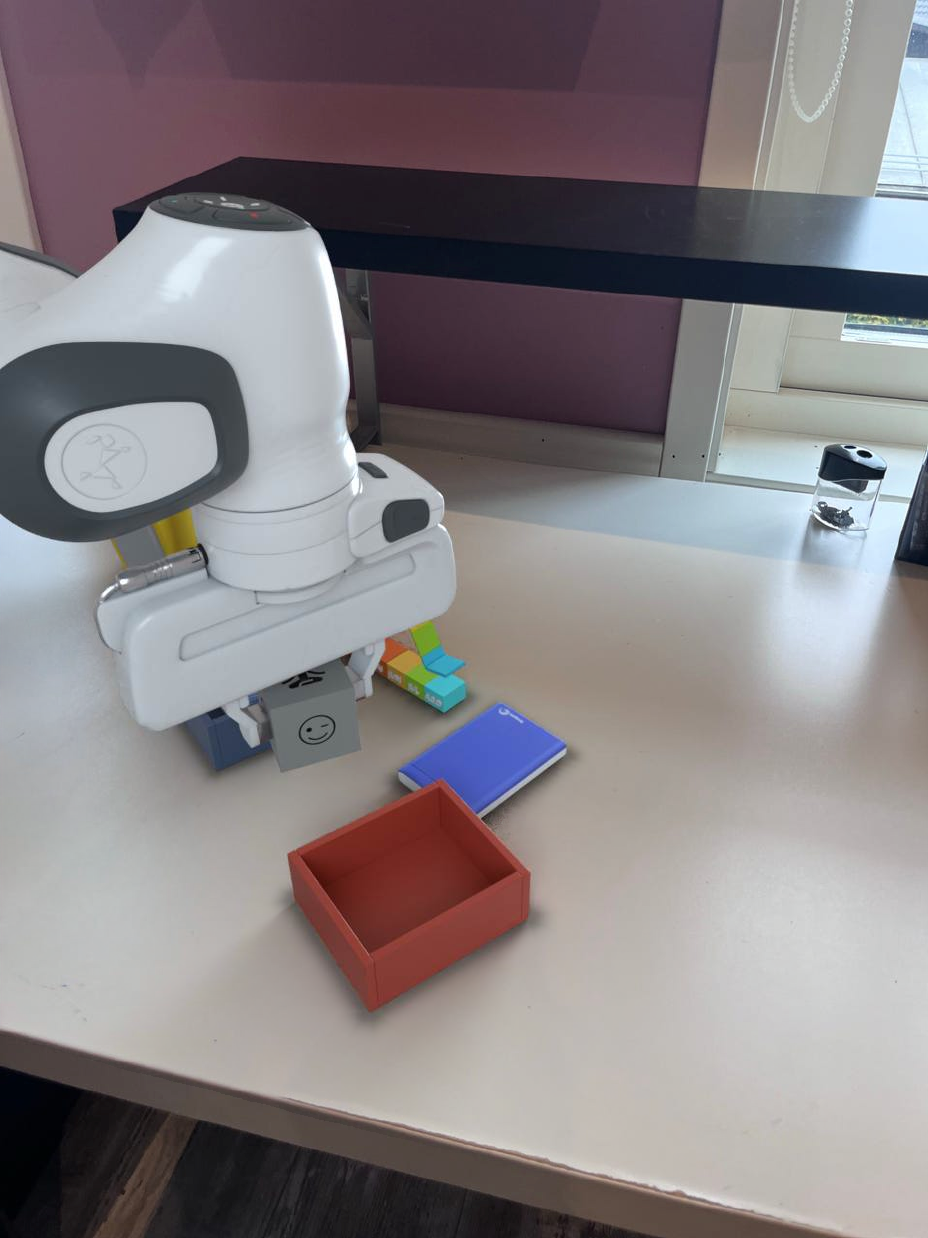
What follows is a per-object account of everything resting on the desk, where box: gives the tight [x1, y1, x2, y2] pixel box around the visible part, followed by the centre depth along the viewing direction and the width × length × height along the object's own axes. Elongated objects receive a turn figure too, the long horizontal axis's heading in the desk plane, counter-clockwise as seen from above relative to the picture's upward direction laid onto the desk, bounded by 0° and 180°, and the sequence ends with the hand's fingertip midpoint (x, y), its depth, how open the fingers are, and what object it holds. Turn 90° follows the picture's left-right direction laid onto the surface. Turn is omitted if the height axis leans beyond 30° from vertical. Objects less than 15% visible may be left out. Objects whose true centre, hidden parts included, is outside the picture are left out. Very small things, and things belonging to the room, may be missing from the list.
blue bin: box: [183, 701, 273, 772], centre depth 90 cm, size 12×14×5 cm
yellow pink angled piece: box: [109, 508, 197, 570], centre depth 100 cm, size 22×9×22 cm, turn 178°
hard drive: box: [397, 701, 568, 820], centre depth 84 cm, size 2×8×12 cm
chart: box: [347, 619, 467, 713], centre depth 95 cm, size 30×3×15 cm, turn 47°
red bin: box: [286, 778, 532, 1013], centre depth 71 cm, size 13×11×5 cm
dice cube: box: [257, 657, 362, 774], centre depth 59 cm, size 5×5×5 cm
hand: (309, 715), depth 60 cm, fingers closed on dice cube, 5 cm apart
